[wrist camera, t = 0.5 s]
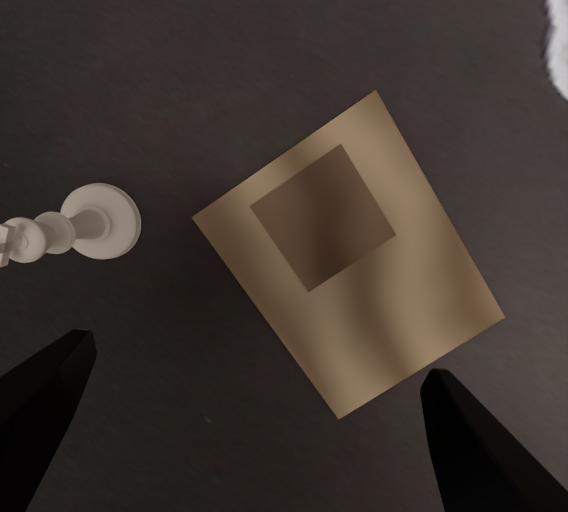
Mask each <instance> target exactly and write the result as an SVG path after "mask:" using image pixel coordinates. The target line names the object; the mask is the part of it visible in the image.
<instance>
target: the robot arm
mask: <svg viewBox="0 0 568 512" xmlns="http://www.w3.org/2000/svg"><path fill="white" fill-rule="evenodd" d="M96 355H97V351H96V346H95V341H94V337H93V333H92V331H91V330H88V329H79V328H75V329H72V330H70V331H69V332H67V333H66V334H64V335H63V336H61V337H60V338H58V339H57V340H55V341H54V342H52V343H51V344H49V345H48V346H46V347H45V348H43V349H42V350H40V351H39V352H37V353H36V354H34V355H33V356H31V357H30V358H28V359H27V360H25V361H24V362H22V363H21V364H19V365H18V366H16V367H15V368H13V369H12V370H10V371H9V372H7V373H6V374H4V375H3V376H1V377H0V512H25V511H26V509H27V507H28V505H29V504H30V502H31V500H32V498H33V496H34V494H35V492H36V490H37V488H38V486H39V484H40V482H41V480H42V478H43V476H44V474H45V472H46V470H47V468H48V466H49V464H50V462H51V460H52V459H53V457H54V455H55V453H56V451H57V449H58V447H59V445H60V443H61V441H62V439H63V437H64V435H65V433H66V431H67V429H68V427H69V425H70V423H71V421H72V419H73V417H74V414H75V412H76V410H77V407H78V405H79V402H80V399H81V397H82V394H83V391H84V389H85V386H86V384H87V381H88V378H89V376H90V373H91V370H92V368H93V365H94V363H95V360H96ZM420 396H421V402H422V409H423V415H424V422H425V428H426V435H427V441H428V447H429V452H430V456H431V460H432V464H433V468H434V472H435V475H436V479H437V483H438V487H439V491H440V495H441V498H442V502H443V506H444V510H445V512H568V491H567V490H566V489H565V488H564V487H563V486H562V485H561V484H560V483H559V482H558V481H557V480H556V479H555V478H554V477H553V476H552V475H551V474H550V473H549V472H548V471H547V470H546V468H545V467H544V466H543V465H542V464H541V463H540V462H539V461H538V460H537V459H536V458H535V457H534V456H533V455H532V454H531V453H530V452H529V451H528V450H527V449H526V448H525V447H524V446H523V445H522V444H521V443H520V442H519V441H518V440H517V439H516V438H515V437H514V436H513V435H512V434H511V433H510V432H509V431H508V430H507V429H506V428H505V427H504V426H503V425H502V424H501V423H500V422H499V421H498V420H497V419H496V418H495V417H494V416H493V415H492V414H491V413H490V412H489V411H488V410H487V409H486V408H485V407H484V405H483V404H482V403H481V402H480V401H479V400H478V399H477V398H476V397H475V396H474V395H473V394H472V393H471V392H470V391H469V390H468V389H467V388H466V387H465V386H464V385H463V384H462V383H461V382H460V381H459V380H458V379H457V378H456V377H455V376H454V375H453V374H452V373H451V372H450V371H449V370H447V369H441V368H432V369H431V370H430V371H429V373H428V375H427V377H426V378H425V380H424V382H423V384H422V386H421V389H420Z"/></svg>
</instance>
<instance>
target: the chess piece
mask: <svg viewBox="0 0 568 512" xmlns="http://www.w3.org/2000/svg"><path fill="white" fill-rule="evenodd" d="M140 232H141V217H140V213H139V210H138V208H137V206H136V204H135V203H134V201H133V200H132V199H131V197H130V196H129V195H128V194H126V193H125V192H124V191H123V190H121V189H119V188H117V187H115V186H113V185H110V184H105V183H93V184H88V185H85V186H82V187H80V188H78V189H76V190H75V191H73V192H72V193H71V194H70V195H69V196H68V197H67V198H66V200H65V201H64V203H63V205H62V208H61V212H60V213H57V212H46V213H43V214H41V215H39V216H38V217H37V218H36V219H35V220H31V219H28V218H13V219H10V220H8V221H6V222H5V223H4V224H0V267H3V266H6V265H8V261H9V258H10V259H12V260H14V261H17V262H21V263H29V262H33V261H36V260H37V259H39V258H40V257H42V256H43V255H44V254H45V252H47V253H52V254H60V253H64V252H66V251H68V250H69V249H70V248H71V247H73V248H74V249H75V250H77V251H78V252H79V253H81V254H83V255H85V256H87V257H90V258H94V259H110V258H116V257H119V256H121V255H123V254H125V253H127V252H128V251H129V250H130V249H131V248H132V247H133V246H134V245H135V244H136V242H137V240H138V238H139V235H140Z"/></svg>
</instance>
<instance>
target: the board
mask: <svg viewBox="0 0 568 512" xmlns="http://www.w3.org/2000/svg"><path fill="white" fill-rule="evenodd" d="M192 219H193V220H194V221H195V223H196V224H197V225H198V227H199V228H200V230H201V231H202V232H203V234H204V235H205V236H206V238H207V239H208V241H209V242H210V243H211V245H212V246H213V247H214V249H215V250H216V252H217V253H218V254H219V256H220V257H221V258H222V260H223V261H224V263H225V264H226V265H227V267H228V268H229V269H230V271H231V272H232V274H233V275H234V276H235V278H236V279H237V280H238V282H239V283H240V285H241V286H242V287H243V289H244V290H245V291H246V293H247V294H248V296H249V297H250V298H251V300H252V301H253V302H254V304H255V305H256V307H257V308H258V309H259V311H260V312H261V313H262V315H263V316H264V318H265V319H266V320H267V322H268V323H269V324H270V326H271V327H272V328H273V330H274V331H275V333H276V334H277V335H278V337H279V338H280V339H281V341H282V342H283V344H284V345H285V346H286V348H287V349H288V350H289V352H290V353H291V355H292V356H293V357H294V359H295V360H296V361H297V363H298V364H299V366H300V367H301V368H302V370H303V371H304V372H305V374H306V375H307V377H308V378H309V379H310V381H311V382H312V383H313V385H314V386H315V388H316V389H317V390H318V392H319V393H320V394H321V396H322V397H323V399H324V400H325V401H326V403H327V404H328V405H329V407H330V408H331V410H332V411H333V412H334V414H335V415H336V416H337V418H338V419H340V418H342V417H344V416H345V415H347V414H349V413H350V412H352V411H353V410H355V409H357V408H358V407H360V406H362V405H363V404H365V403H366V402H368V401H370V400H371V399H373V398H375V397H376V396H378V395H379V394H381V393H383V392H384V391H386V390H388V389H389V388H391V387H393V386H394V385H396V384H397V383H399V382H401V381H402V380H404V379H406V378H407V377H409V376H410V375H412V374H414V373H415V372H417V371H419V370H420V369H422V368H423V367H425V366H427V365H428V364H430V363H432V362H433V361H435V360H436V359H438V358H440V357H441V356H443V355H445V354H446V353H448V352H449V351H451V350H453V349H454V348H456V347H458V346H459V345H461V344H462V343H464V342H466V341H467V340H469V339H471V338H472V337H474V336H475V335H477V334H479V333H480V332H482V331H484V330H485V329H487V328H488V327H490V326H492V325H493V324H495V323H497V322H498V321H500V320H501V319H503V318H505V316H504V314H503V313H502V311H501V309H500V307H499V306H498V304H497V302H496V300H495V299H494V297H493V295H492V293H491V292H490V290H489V288H488V286H487V285H486V283H485V281H484V279H483V278H482V276H481V274H480V272H479V271H478V269H477V267H476V265H475V264H474V262H473V260H472V258H471V256H470V255H469V253H468V251H467V249H466V248H465V246H464V244H463V242H462V241H461V239H460V237H459V235H458V234H457V232H456V230H455V228H454V227H453V225H452V223H451V221H450V220H449V218H448V216H447V214H446V213H445V211H444V209H443V207H442V206H441V204H440V202H439V200H438V199H437V197H436V195H435V193H434V192H433V190H432V188H431V186H430V184H429V183H428V181H427V179H426V177H425V176H424V174H423V172H422V170H421V169H420V167H419V165H418V163H417V162H416V160H415V158H414V156H413V155H412V153H411V151H410V149H409V148H408V146H407V144H406V142H405V141H404V139H403V137H402V135H401V134H400V132H399V130H398V128H397V127H396V125H395V123H394V121H393V120H392V118H391V116H390V114H389V112H388V111H387V109H386V107H385V105H384V104H383V102H382V100H381V98H380V97H379V95H378V93H377V91H376V90H375V91H373V92H372V93H370V94H369V95H368V96H366V97H365V98H363V99H362V100H360V101H359V102H357V103H356V104H355V105H353V106H352V107H350V108H349V109H347V110H346V111H344V112H343V113H342V114H340V115H339V116H337V117H336V118H334V119H333V120H331V121H330V122H329V123H327V124H326V125H324V126H323V127H321V128H320V129H318V130H317V131H316V132H314V133H313V134H311V135H310V136H308V137H307V138H305V139H304V140H303V141H301V142H300V143H298V144H297V145H295V146H294V147H292V148H291V149H290V150H288V151H287V152H285V153H284V154H282V155H281V156H279V157H278V158H277V159H275V160H274V161H272V162H271V163H269V164H268V165H266V166H265V167H264V168H262V169H261V170H259V171H258V172H256V173H255V174H253V175H252V176H251V177H249V178H248V179H246V180H245V181H243V182H242V183H240V184H239V185H238V186H236V187H235V188H233V189H232V190H230V191H229V192H227V193H226V194H225V195H223V196H222V197H220V198H219V199H217V200H216V201H214V202H213V203H212V204H210V205H209V206H207V207H206V208H204V209H203V210H201V211H200V212H199V213H197V214H196V215H194V216H193V217H192Z"/></svg>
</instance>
